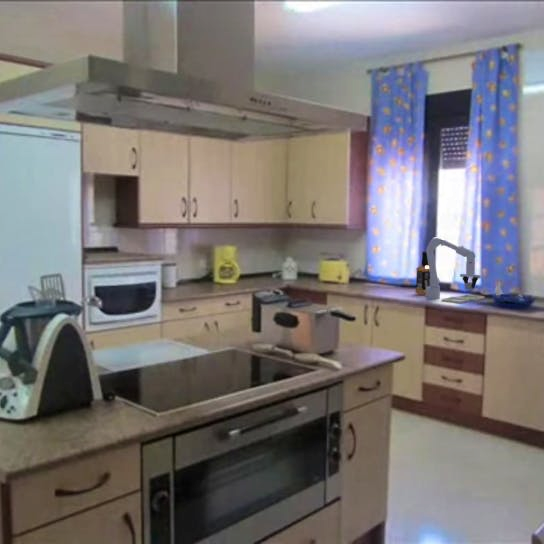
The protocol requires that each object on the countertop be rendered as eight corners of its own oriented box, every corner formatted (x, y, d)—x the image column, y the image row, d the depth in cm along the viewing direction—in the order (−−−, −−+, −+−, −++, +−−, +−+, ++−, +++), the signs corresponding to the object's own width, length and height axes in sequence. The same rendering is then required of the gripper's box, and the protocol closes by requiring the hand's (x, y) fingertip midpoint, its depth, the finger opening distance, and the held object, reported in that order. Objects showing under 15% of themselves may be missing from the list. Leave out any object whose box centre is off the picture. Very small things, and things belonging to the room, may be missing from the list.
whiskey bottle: (433, 294, 448) (434, 251, 445) (422, 295, 445) (423, 252, 441) (425, 292, 458) (426, 250, 454) (414, 293, 454) (415, 251, 451)
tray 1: (441, 302, 413) (441, 299, 413) (451, 300, 423) (451, 296, 423) (460, 304, 403) (460, 301, 403) (470, 302, 413) (470, 298, 413)
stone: (465, 289, 419) (465, 282, 419) (468, 288, 423) (468, 282, 422) (471, 289, 416) (471, 283, 416) (474, 289, 419) (474, 282, 419)
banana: (521, 304, 402) (522, 282, 400) (493, 301, 414) (494, 280, 412) (524, 303, 405) (525, 281, 403) (496, 300, 417) (496, 279, 416)
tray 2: (456, 300, 421) (456, 296, 421) (465, 298, 431) (465, 294, 430) (474, 302, 411) (474, 299, 411) (484, 300, 421) (484, 296, 421)
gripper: (457, 268, 420) (457, 287, 422) (477, 269, 410) (477, 289, 412) (462, 267, 425) (462, 286, 427) (482, 268, 415) (481, 288, 416)
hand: (470, 287), depth 420 cm, fingers closed on stone, 4 cm apart
